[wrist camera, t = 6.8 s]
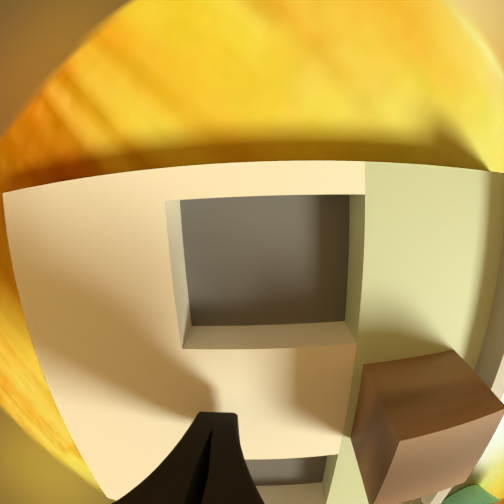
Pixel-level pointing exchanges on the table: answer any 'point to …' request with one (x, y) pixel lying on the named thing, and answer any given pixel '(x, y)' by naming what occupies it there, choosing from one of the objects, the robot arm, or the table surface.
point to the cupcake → (472, 496)
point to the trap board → (252, 305)
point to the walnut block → (421, 425)
